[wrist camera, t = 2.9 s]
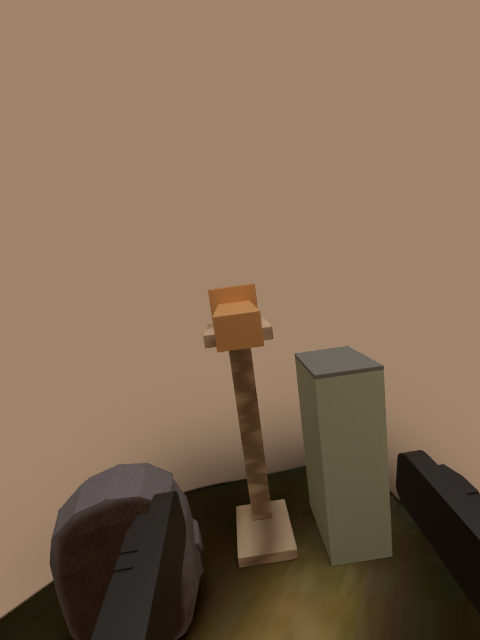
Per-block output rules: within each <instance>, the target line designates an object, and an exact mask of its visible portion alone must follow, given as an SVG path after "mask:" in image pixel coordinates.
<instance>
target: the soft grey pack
mask: <svg viewBox="0 0 480 640" xmlns="http://www.w3.org/2000/svg"><path fill="white" fill-rule="evenodd" d="M175 490H176V491H177V492H178V495H179V499H180V503H181V507H182V511H183V515H184V518H185V523H186V545H185V553H184V562H183V570H182V578H181V586H180V594H179V603H178V611H177V619H176V627H175V636H174V640H177V639H178V638H180V637H181V636H182V635H184V634H185V633H186V632H187V630H188V628H189V626H190V623H191V621H192V619H193V614H194V608H195V603H196V598H197V593H198V587H199V579H200V576H201V575H202V573H203V563H202V554H201V547H202V549H203V545H202V539H201V534H200V530H199V526H198V522H197V521H196V520H194V519H193V518H192V515H191V511H190V508H189V504H188V501H187V497H186V496H185V494H184V493H183V491H182V490H181V489H180V487H179V486H178V485H177V483H176V482H175V481H174V479H173V475H172V473H170V472H168V471H165V470H163V469H161V468H158V467H156V466H153V465H151V464H149V463H139V464H119V465H116V466H114V467H112V468H110V469H108V470H105V471H103V472H101V473H99V474H97V475H94V476H92V477H90V478H89V479H88V480H86V481H85V482H84V483H83V484H81V486H80V487H79V488H78V489H77V490H76V491H75V492H74V494H73V495H72V496H71V497H70V498H69V499H68V500H67V502H66V503H65V504H64V505H63V506H62V508H60V510H59V511H58V516H57V520H56V525H55V528H54V532H53V536H52V539H51V552H50V567H51V571H52V575H53V579H54V583H55V587H56V592H57V596H58V600H59V603H60V606H61V609H62V612H63V615H64V617H65V620H66V623H67V626H68V629H69V632H70V634H71V635H72V637H73V638H74V640H91V638H92V635H93V632H94V629H95V626H96V623H97V620H98V617H99V614H100V611H101V608H102V605H103V602H104V599H105V596H106V593H107V590H108V587H109V584H110V581H111V578H112V575H113V574H114V569H115V566H116V563H117V560H118V557H119V556H120V551H121V548H122V545H123V542H124V539H125V536H126V533H127V531H128V530H129V528H130V527H131V525H132V524H133V522H134V521H135V519H136V518H137V516H138V515H142V514H148V512H149V508H150V505H151V501H152V498H153V496H154V494H157V493H163V492H169V491H175ZM200 545H201V546H200ZM203 551H204V550H203Z"/></svg>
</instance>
